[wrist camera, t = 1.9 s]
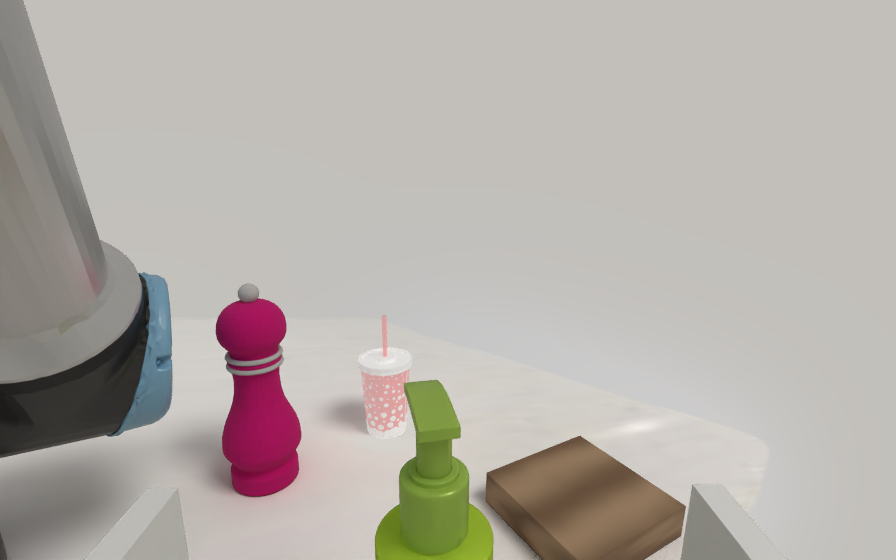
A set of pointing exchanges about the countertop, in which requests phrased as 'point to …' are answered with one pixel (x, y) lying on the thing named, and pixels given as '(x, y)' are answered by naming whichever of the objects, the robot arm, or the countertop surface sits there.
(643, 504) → the plinth
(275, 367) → the pepper mill
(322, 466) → the countertop surface
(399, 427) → the beverage cup
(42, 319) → the robot arm
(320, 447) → the countertop surface
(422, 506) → the soap dispenser
